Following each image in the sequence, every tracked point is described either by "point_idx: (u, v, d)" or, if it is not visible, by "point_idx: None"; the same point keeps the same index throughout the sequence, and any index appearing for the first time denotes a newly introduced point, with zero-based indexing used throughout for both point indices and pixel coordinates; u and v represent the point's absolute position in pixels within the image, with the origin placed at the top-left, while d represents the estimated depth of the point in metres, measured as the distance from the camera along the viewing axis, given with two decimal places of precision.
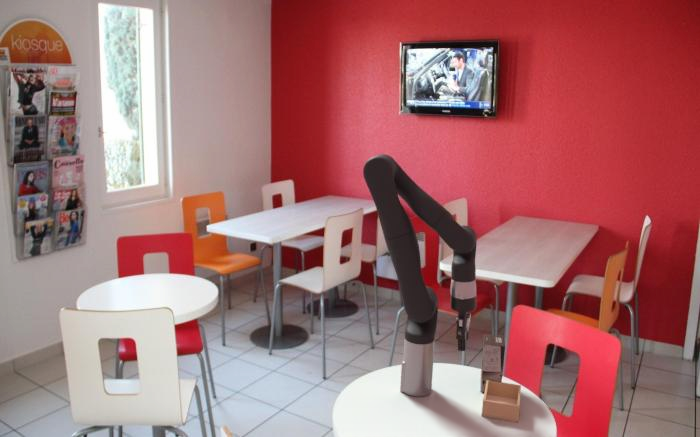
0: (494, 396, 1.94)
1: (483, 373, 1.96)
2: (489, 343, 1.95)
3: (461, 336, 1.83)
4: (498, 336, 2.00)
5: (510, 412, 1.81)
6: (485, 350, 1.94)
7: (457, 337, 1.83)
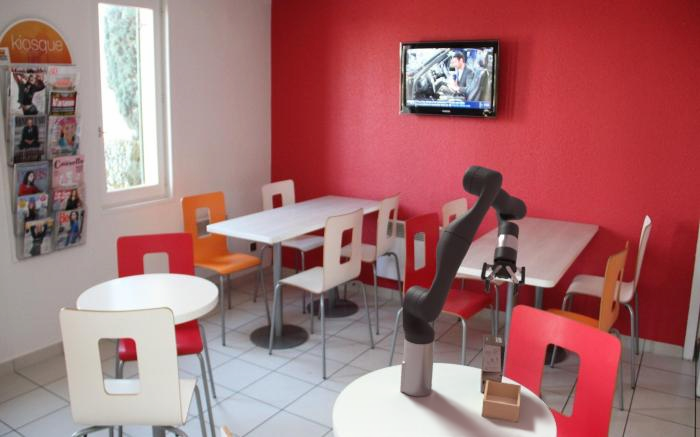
0: (494, 396, 1.94)
1: (483, 373, 1.96)
2: (489, 343, 1.95)
3: None
4: (498, 336, 2.00)
5: (510, 412, 1.81)
6: (485, 350, 1.94)
7: None
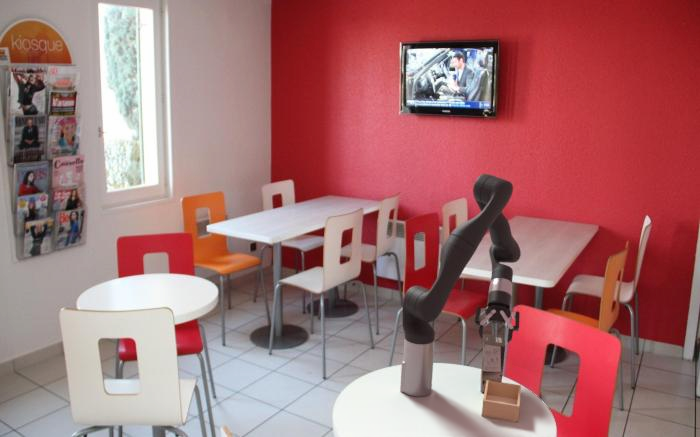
0: (494, 396, 1.94)
1: (483, 373, 1.96)
2: (489, 343, 1.95)
3: None
4: (498, 336, 2.00)
5: (510, 412, 1.81)
6: (485, 350, 1.94)
7: None
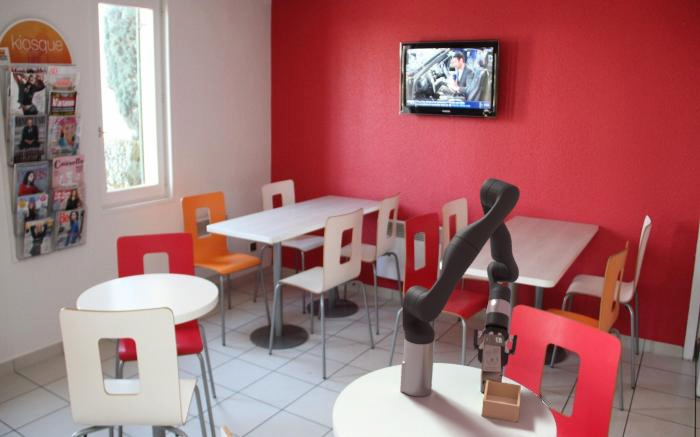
0: (494, 396, 1.94)
1: (483, 373, 1.96)
2: (489, 343, 1.95)
3: None
4: (498, 336, 2.00)
5: (510, 412, 1.81)
6: (485, 350, 1.94)
7: None
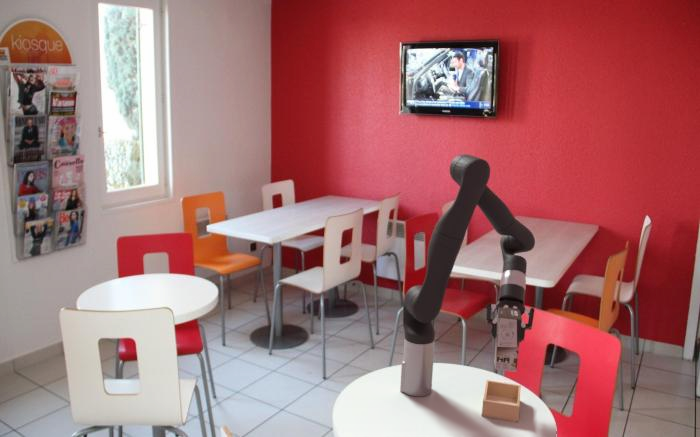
0: (494, 396, 1.94)
1: (498, 349, 1.80)
2: (504, 316, 1.79)
3: None
4: (514, 309, 1.84)
5: (510, 412, 1.81)
6: (500, 324, 1.78)
7: None
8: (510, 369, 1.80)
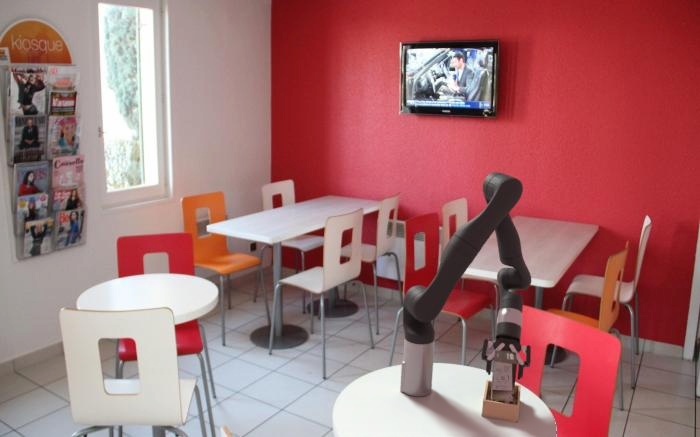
0: None
1: (493, 392, 1.83)
2: (500, 360, 1.82)
3: None
4: (510, 352, 1.88)
5: (510, 412, 1.81)
6: (495, 367, 1.82)
7: None
8: None
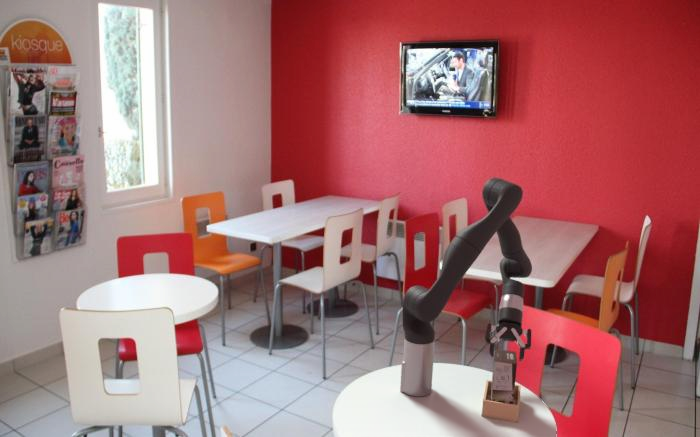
0: None
1: (493, 392, 1.83)
2: (500, 360, 1.82)
3: None
4: (510, 352, 1.88)
5: (510, 412, 1.81)
6: (495, 367, 1.82)
7: None
8: None
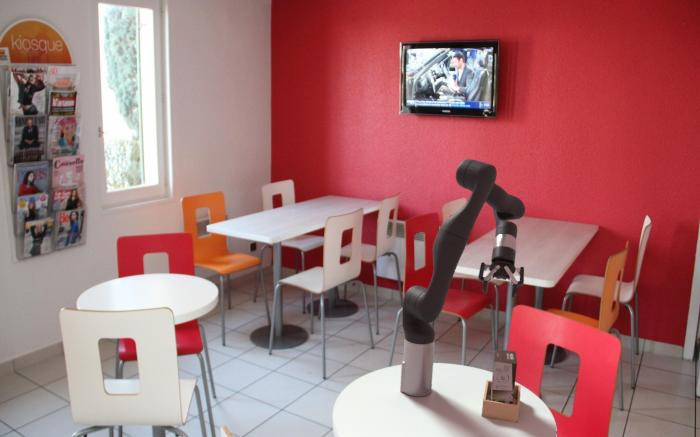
0: None
1: (493, 392, 1.83)
2: (500, 360, 1.82)
3: None
4: (510, 352, 1.88)
5: (510, 412, 1.81)
6: (495, 367, 1.82)
7: None
8: None
